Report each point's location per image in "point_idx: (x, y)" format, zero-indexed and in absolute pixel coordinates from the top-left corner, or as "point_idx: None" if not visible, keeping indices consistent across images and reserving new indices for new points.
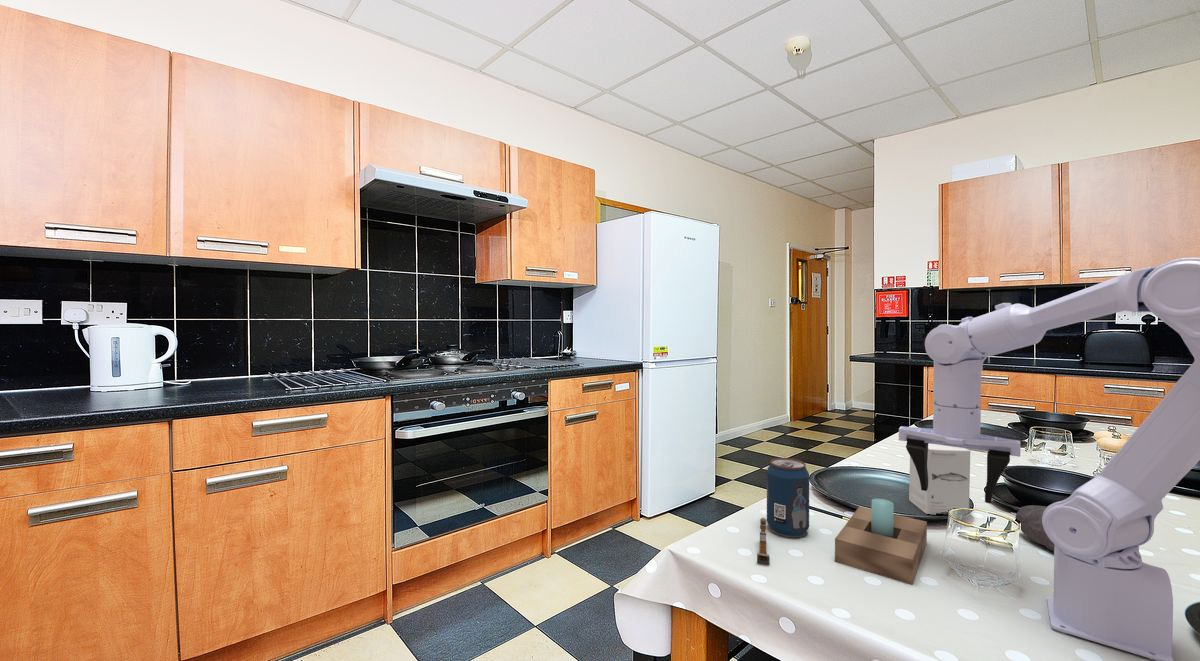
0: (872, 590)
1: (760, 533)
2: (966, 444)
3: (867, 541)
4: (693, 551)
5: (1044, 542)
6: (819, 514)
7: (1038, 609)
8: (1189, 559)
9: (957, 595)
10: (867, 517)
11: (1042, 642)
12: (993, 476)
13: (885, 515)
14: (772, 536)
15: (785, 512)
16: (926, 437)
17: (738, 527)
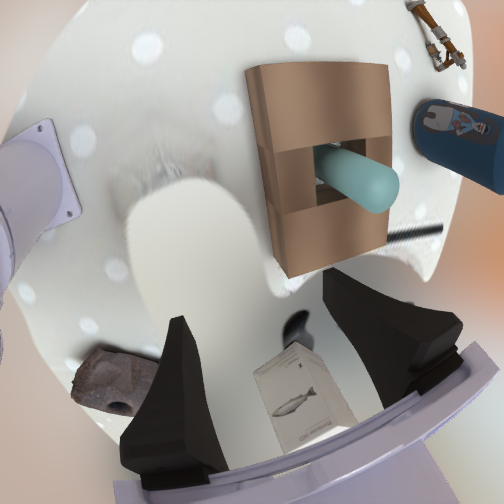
0: (285, 7)
1: (448, 37)
2: (291, 472)
3: (348, 90)
4: (457, 4)
5: (155, 365)
6: (409, 219)
7: (79, 167)
8: (88, 414)
9: (176, 95)
10: None
11: (54, 69)
12: (164, 387)
13: (359, 163)
14: (434, 93)
15: (457, 104)
16: (441, 400)
17: (461, 94)
